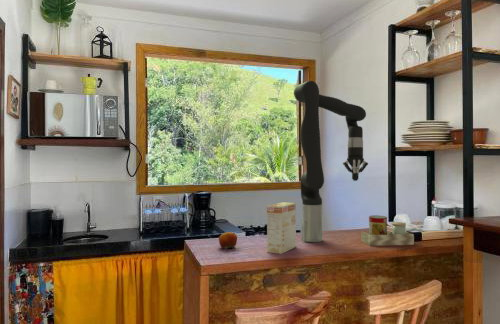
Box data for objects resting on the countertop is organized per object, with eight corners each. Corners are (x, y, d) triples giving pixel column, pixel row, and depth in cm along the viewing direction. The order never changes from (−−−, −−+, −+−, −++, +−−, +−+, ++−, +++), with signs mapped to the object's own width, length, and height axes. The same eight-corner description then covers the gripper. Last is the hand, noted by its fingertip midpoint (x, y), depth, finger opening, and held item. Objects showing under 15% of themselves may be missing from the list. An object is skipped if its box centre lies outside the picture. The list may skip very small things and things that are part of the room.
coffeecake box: (282, 245, 166) (281, 201, 166) (296, 246, 162) (296, 202, 163) (266, 252, 153) (266, 205, 153) (281, 254, 150) (281, 206, 150)
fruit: (225, 248, 155) (221, 230, 158) (219, 254, 161) (215, 237, 164) (242, 246, 158) (238, 228, 162) (235, 252, 164) (231, 235, 168)
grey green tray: (369, 245, 164) (369, 235, 164) (361, 240, 174) (361, 231, 174) (413, 244, 165) (413, 234, 165) (403, 240, 175) (403, 230, 175)
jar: (395, 243, 167) (395, 224, 167) (390, 241, 173) (390, 222, 173) (408, 243, 167) (408, 223, 167) (402, 241, 173) (402, 221, 173)
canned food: (389, 244, 166) (389, 217, 166) (372, 244, 166) (372, 217, 166) (383, 240, 174) (383, 215, 174) (366, 240, 174) (366, 215, 174)
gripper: (344, 146, 184) (344, 180, 184) (370, 146, 185) (370, 181, 185) (340, 147, 192) (340, 180, 192) (365, 147, 192) (365, 180, 192)
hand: (355, 180), depth 188 cm, fingers closed
